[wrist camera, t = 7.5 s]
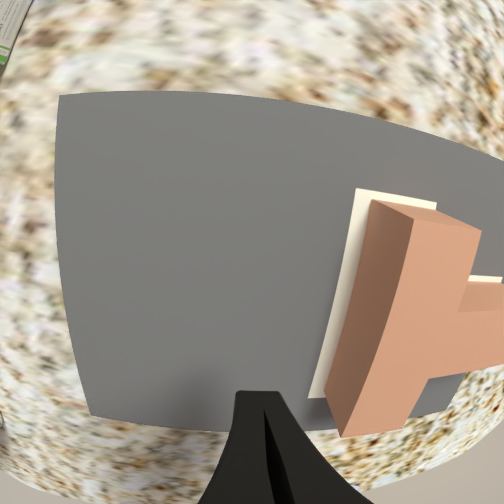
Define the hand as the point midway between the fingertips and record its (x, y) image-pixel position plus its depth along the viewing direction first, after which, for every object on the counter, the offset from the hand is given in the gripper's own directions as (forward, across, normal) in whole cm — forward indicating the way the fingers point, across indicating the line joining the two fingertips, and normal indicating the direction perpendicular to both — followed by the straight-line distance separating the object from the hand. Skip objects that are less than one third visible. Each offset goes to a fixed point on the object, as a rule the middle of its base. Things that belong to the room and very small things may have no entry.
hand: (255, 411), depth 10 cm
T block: (+7, -12, 0) cm, 14 cm away
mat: (+8, -4, 0) cm, 9 cm away
